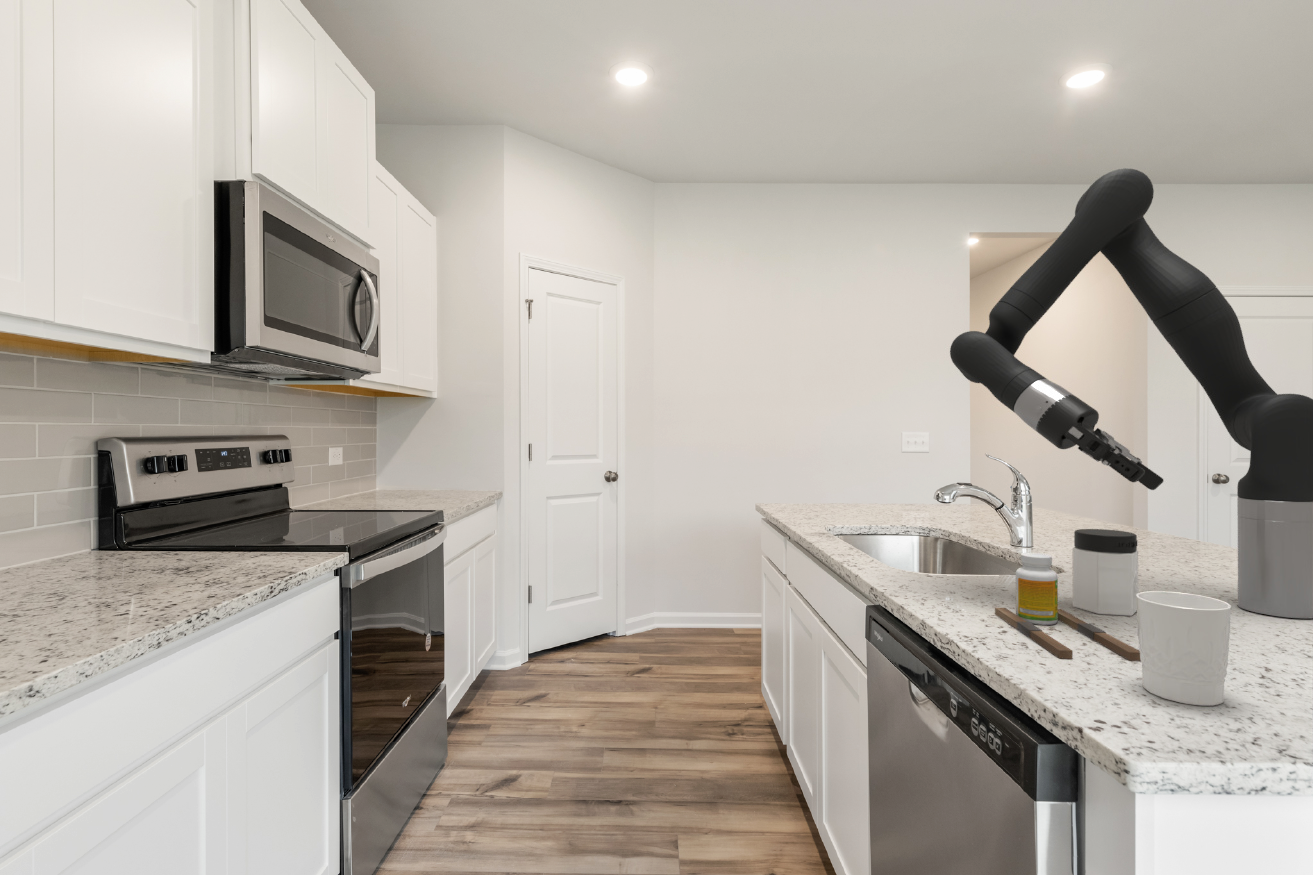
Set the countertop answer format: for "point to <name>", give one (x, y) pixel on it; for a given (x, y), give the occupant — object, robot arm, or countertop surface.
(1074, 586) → the jar
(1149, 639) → the white cup
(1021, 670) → the countertop surface
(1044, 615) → the supplement bottle
